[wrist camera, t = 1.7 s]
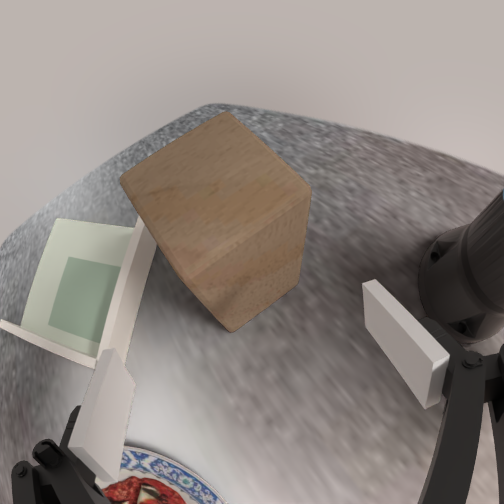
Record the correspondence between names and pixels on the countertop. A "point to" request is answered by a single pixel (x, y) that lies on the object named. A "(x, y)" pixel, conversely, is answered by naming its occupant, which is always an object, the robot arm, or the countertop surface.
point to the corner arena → (87, 290)
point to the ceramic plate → (156, 481)
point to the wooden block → (224, 216)
